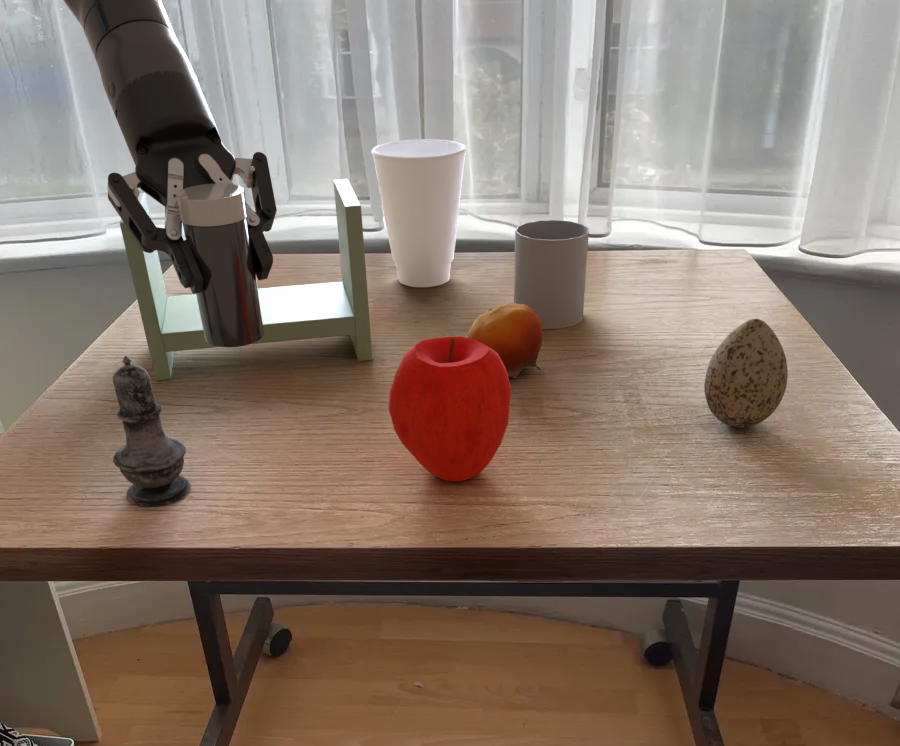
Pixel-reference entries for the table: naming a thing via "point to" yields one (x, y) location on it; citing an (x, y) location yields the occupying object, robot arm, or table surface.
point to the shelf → (261, 297)
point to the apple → (451, 405)
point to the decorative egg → (746, 375)
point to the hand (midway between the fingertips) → (231, 280)
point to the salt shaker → (146, 443)
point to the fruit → (510, 335)
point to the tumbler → (223, 263)
